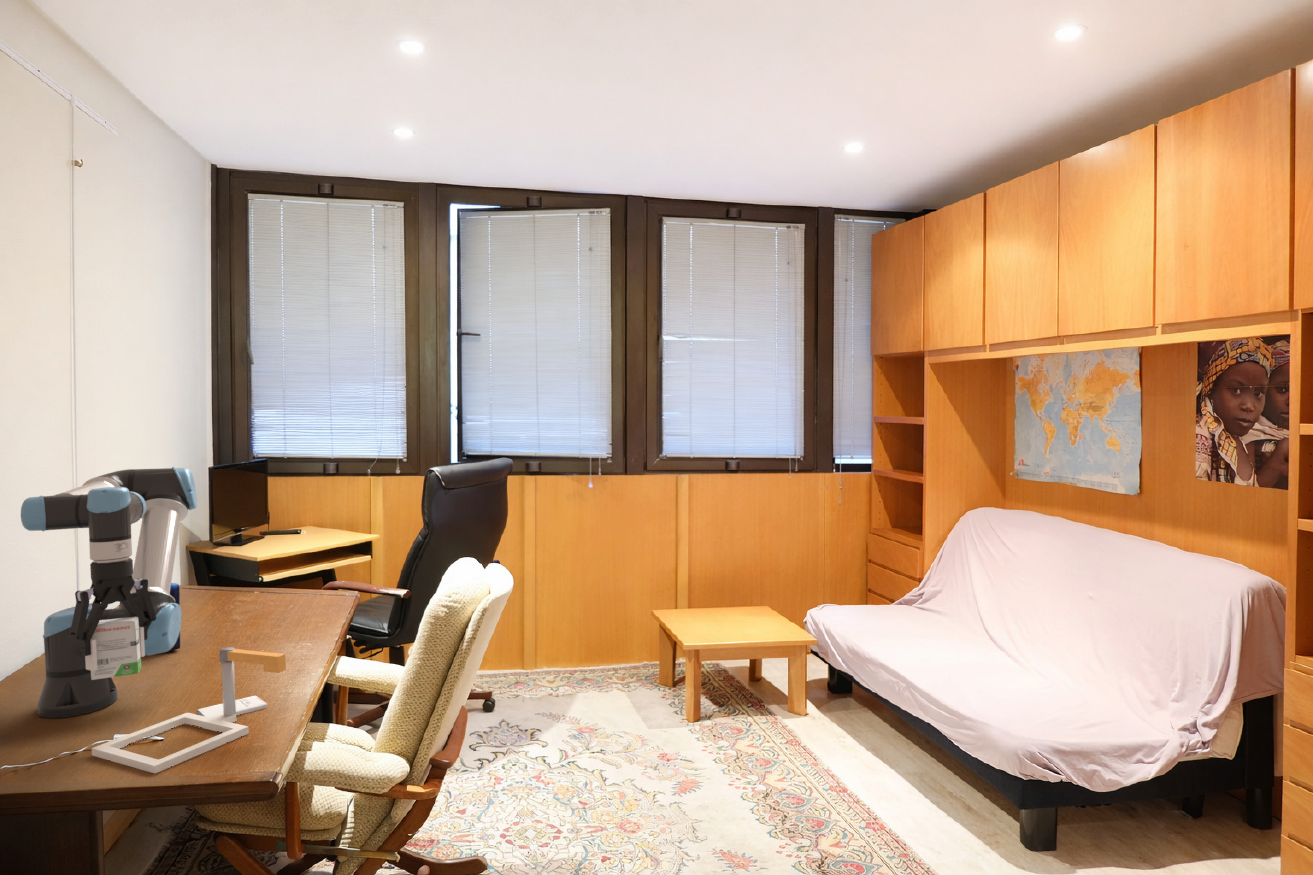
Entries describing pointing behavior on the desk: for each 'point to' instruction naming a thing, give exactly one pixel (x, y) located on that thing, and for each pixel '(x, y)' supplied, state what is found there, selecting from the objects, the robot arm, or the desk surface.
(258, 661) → the orange bar
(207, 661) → the desk surface
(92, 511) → the robot arm
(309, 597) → the desk surface
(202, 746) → the socket frame
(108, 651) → the ink box
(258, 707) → the external hard drive
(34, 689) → the desk surface
